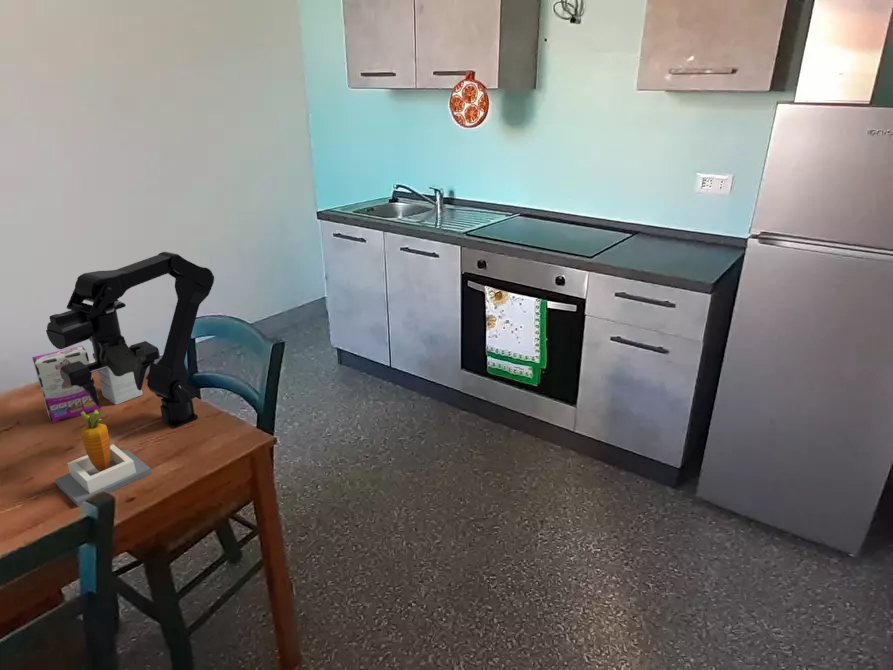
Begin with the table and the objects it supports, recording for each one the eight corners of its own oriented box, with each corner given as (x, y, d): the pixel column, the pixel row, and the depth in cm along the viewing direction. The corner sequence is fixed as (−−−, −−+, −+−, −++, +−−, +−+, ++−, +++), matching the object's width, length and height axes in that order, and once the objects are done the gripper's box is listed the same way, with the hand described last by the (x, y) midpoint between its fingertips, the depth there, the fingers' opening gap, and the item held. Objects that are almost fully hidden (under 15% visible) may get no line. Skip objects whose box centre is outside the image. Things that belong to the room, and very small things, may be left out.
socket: (127, 453, 142) (124, 437, 140) (151, 473, 136) (148, 456, 134) (55, 484, 132) (51, 467, 130) (78, 506, 125) (73, 489, 123)
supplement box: (129, 386, 171) (121, 344, 166) (143, 395, 167) (135, 351, 162) (101, 396, 166) (92, 352, 161) (115, 405, 162) (105, 361, 157)
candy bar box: (96, 402, 163) (83, 344, 156) (101, 410, 159) (88, 351, 153) (47, 415, 156) (31, 356, 150) (50, 424, 153) (34, 363, 146)
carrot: (86, 473, 133) (71, 411, 127) (110, 463, 137) (97, 402, 131) (97, 483, 130) (81, 419, 124) (121, 472, 134) (107, 410, 128)
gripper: (74, 356, 122) (90, 426, 128) (166, 329, 135) (177, 393, 141) (51, 341, 129) (67, 408, 135) (141, 316, 142) (153, 378, 148)
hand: (118, 397), depth 139 cm, fingers open, 9 cm apart
